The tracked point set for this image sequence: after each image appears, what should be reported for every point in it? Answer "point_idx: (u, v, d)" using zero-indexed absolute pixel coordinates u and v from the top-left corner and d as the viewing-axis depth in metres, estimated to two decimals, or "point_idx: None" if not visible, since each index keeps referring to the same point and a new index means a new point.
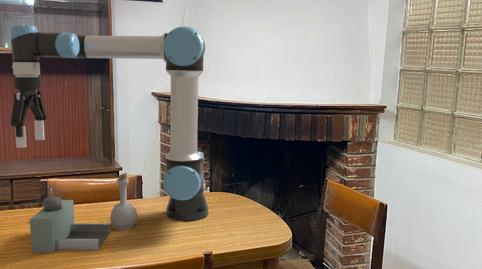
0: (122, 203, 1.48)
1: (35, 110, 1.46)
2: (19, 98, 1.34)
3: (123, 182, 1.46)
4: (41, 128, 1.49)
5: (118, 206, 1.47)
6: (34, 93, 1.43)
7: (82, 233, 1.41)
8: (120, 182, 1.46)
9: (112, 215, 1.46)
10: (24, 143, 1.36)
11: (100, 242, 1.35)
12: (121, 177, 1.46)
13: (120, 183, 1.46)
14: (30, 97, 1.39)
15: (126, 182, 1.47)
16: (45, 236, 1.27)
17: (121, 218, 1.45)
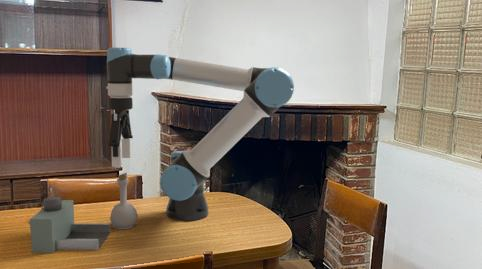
0: (122, 203, 1.48)
1: (124, 129, 1.49)
2: (116, 119, 1.37)
3: (123, 182, 1.46)
4: (128, 146, 1.52)
5: (118, 206, 1.47)
6: (125, 113, 1.46)
7: (82, 233, 1.41)
8: (120, 182, 1.46)
9: (112, 215, 1.46)
10: (119, 163, 1.39)
11: (100, 242, 1.35)
12: (121, 177, 1.46)
13: (120, 183, 1.46)
14: (124, 117, 1.42)
15: (126, 182, 1.47)
16: (45, 236, 1.27)
17: (121, 218, 1.45)
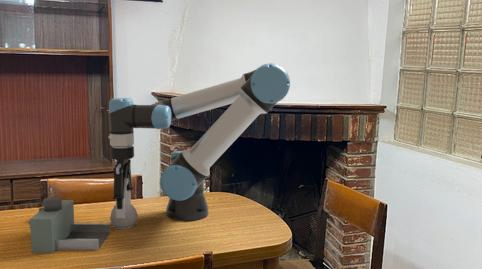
0: None
1: None
2: (119, 173, 1.40)
3: None
4: (128, 198, 1.53)
5: None
6: (127, 160, 1.49)
7: (82, 233, 1.41)
8: None
9: (112, 215, 1.46)
10: (123, 214, 1.44)
11: (100, 242, 1.35)
12: None
13: None
14: (125, 167, 1.45)
15: (126, 182, 1.47)
16: (45, 236, 1.27)
17: (121, 218, 1.45)
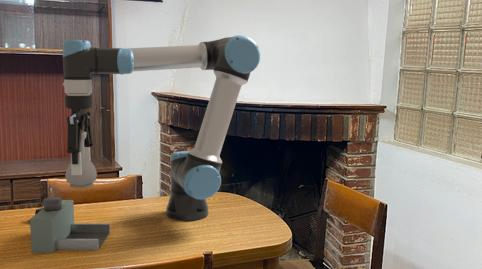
0: None
1: None
2: (73, 123, 1.25)
3: None
4: (88, 155, 1.37)
5: None
6: (85, 111, 1.33)
7: (82, 233, 1.41)
8: None
9: (67, 172, 1.31)
10: (80, 171, 1.29)
11: (100, 242, 1.35)
12: None
13: None
14: (82, 118, 1.29)
15: (83, 135, 1.31)
16: (45, 236, 1.27)
17: (77, 175, 1.29)
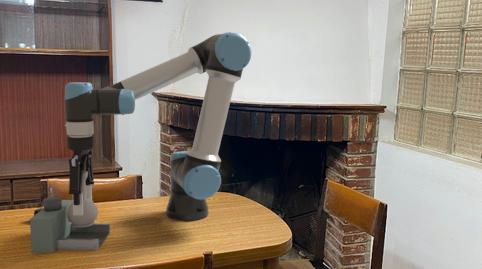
0: None
1: None
2: (75, 165, 1.26)
3: None
4: (89, 194, 1.38)
5: None
6: (87, 151, 1.35)
7: (82, 233, 1.41)
8: None
9: (69, 212, 1.32)
10: (81, 211, 1.31)
11: (100, 242, 1.35)
12: None
13: None
14: (84, 159, 1.31)
15: (85, 175, 1.33)
16: (45, 236, 1.27)
17: (78, 215, 1.31)
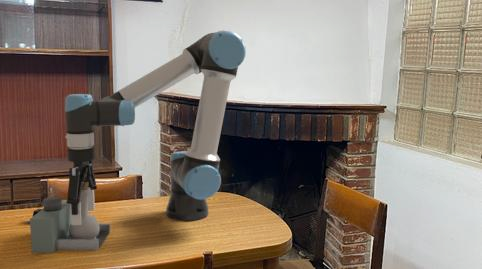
0: (83, 214, 1.34)
1: (87, 180, 1.38)
2: (75, 174, 1.26)
3: (84, 192, 1.32)
4: (92, 198, 1.41)
5: None
6: (87, 163, 1.35)
7: None
8: None
9: (71, 228, 1.33)
10: (79, 220, 1.29)
11: (100, 242, 1.35)
12: (82, 186, 1.33)
13: None
14: (84, 170, 1.31)
15: (87, 192, 1.33)
16: (45, 236, 1.27)
17: (80, 231, 1.32)
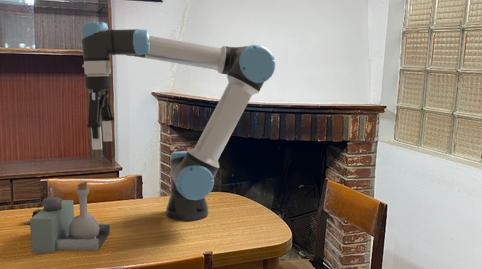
0: (82, 215, 1.34)
1: (104, 110, 1.41)
2: (95, 98, 1.29)
3: (82, 192, 1.33)
4: (109, 129, 1.44)
5: (77, 218, 1.34)
6: (104, 93, 1.38)
7: None
8: (79, 192, 1.33)
9: (71, 228, 1.33)
10: (100, 145, 1.31)
11: (100, 242, 1.35)
12: (80, 186, 1.33)
13: (79, 193, 1.33)
14: (103, 97, 1.34)
15: (86, 192, 1.34)
16: (45, 236, 1.27)
17: (80, 231, 1.32)
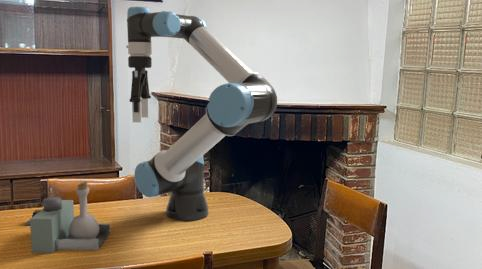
0: (82, 215, 1.34)
1: (143, 88, 1.54)
2: (137, 75, 1.42)
3: (82, 192, 1.33)
4: (146, 106, 1.57)
5: (77, 218, 1.34)
6: (144, 72, 1.51)
7: None
8: (79, 192, 1.33)
9: (71, 228, 1.33)
10: (140, 118, 1.44)
11: (100, 242, 1.35)
12: (80, 186, 1.33)
13: (79, 193, 1.33)
14: (143, 75, 1.47)
15: (86, 192, 1.33)
16: (45, 236, 1.27)
17: (80, 231, 1.32)
